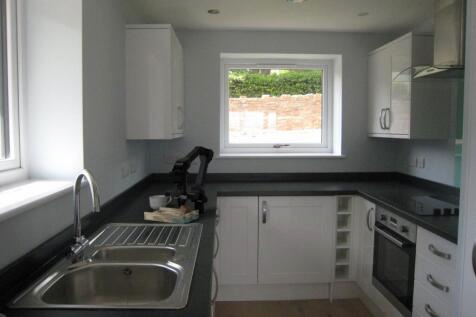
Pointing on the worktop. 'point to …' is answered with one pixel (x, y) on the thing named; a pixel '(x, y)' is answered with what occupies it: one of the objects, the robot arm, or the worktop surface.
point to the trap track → (171, 215)
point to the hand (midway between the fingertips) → (180, 210)
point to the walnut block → (184, 209)
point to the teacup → (159, 201)
